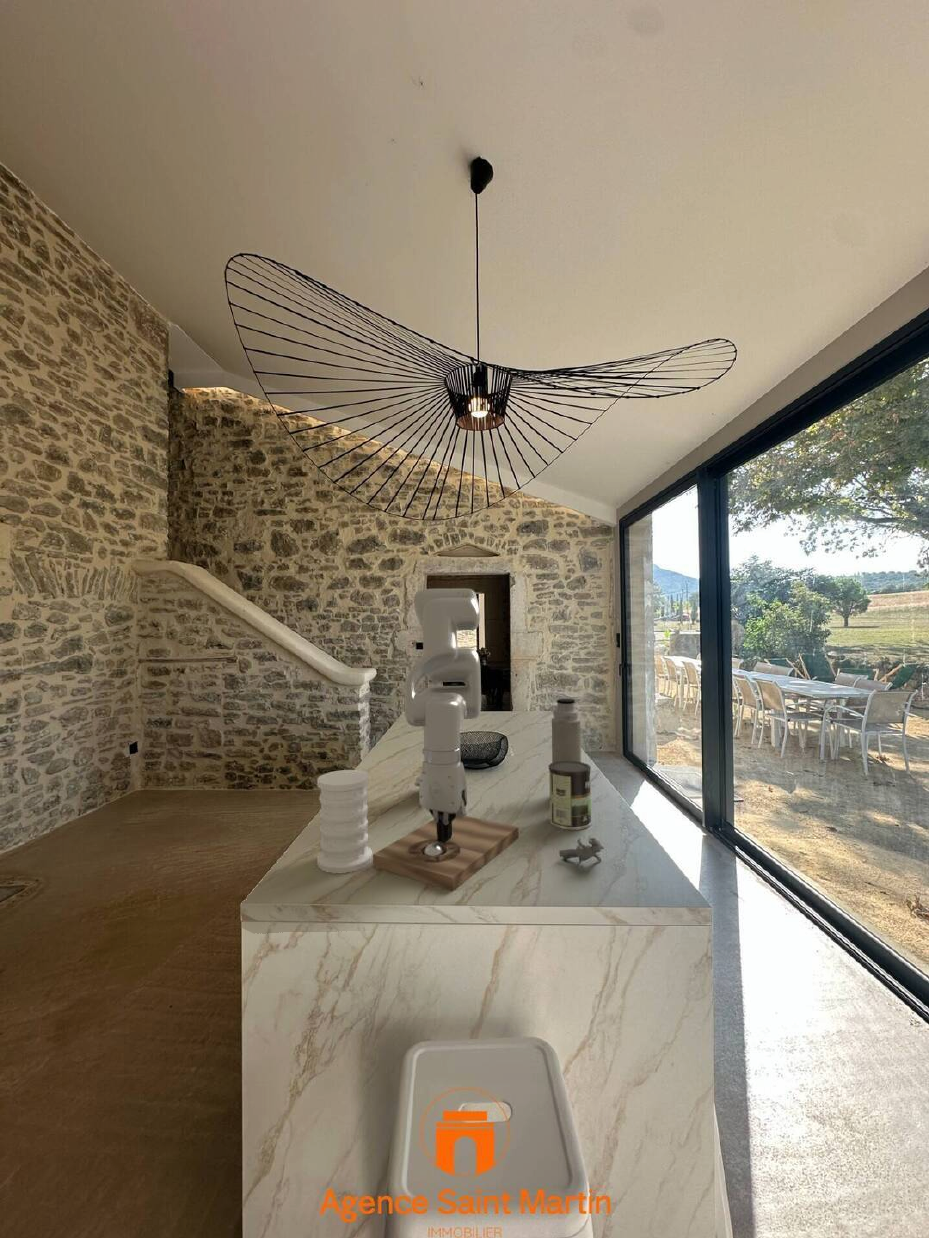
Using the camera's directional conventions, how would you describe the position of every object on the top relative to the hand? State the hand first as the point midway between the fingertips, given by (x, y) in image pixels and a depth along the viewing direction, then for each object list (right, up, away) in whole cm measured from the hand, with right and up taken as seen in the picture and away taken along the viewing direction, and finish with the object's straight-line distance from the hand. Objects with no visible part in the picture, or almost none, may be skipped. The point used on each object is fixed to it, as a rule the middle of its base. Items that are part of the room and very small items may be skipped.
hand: (444, 839), depth 118 cm
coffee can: (+31, -3, +17) cm, 36 cm away
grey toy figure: (+29, -3, -6) cm, 29 cm away
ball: (-2, -1, -4) cm, 5 cm away
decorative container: (-21, -4, -2) cm, 22 cm away
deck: (+1, -3, +2) cm, 4 cm away
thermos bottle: (+33, -3, +35) cm, 48 cm away
